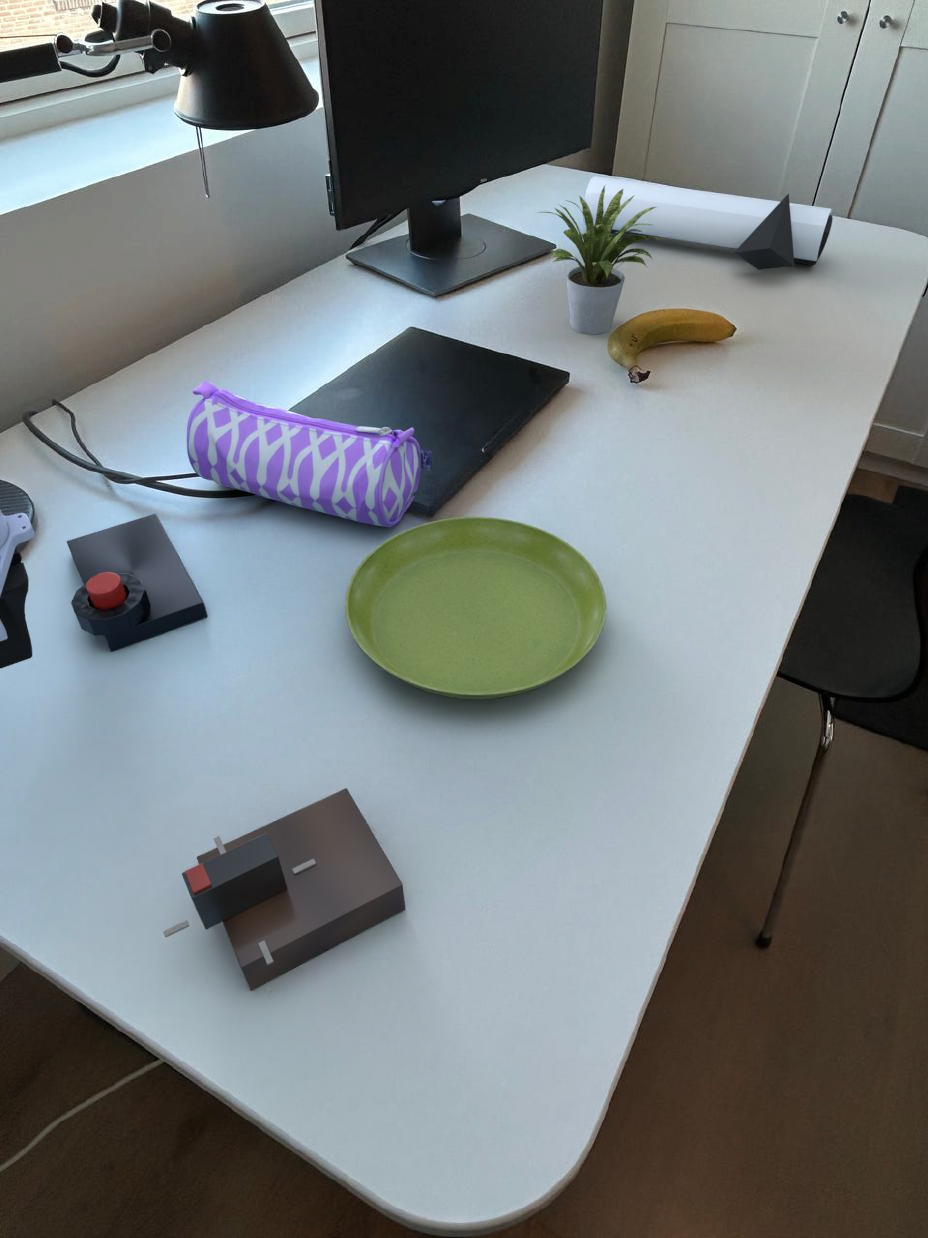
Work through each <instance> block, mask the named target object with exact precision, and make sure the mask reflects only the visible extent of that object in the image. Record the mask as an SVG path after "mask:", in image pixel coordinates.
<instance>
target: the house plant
mask: <svg viewBox="0 0 928 1238" xmlns="http://www.w3.org/2000/svg"><path fill="white" fill-rule="evenodd" d="M604 193H605V186H604V187H603V189H602V192H601V194H600V198H599V202H598V208H597V215H596V221H595V225H594V224H593V217H592V214H591V212H590V209H589V207H588V205H587V203H586V202H585V201H584V198H583V197H582V196H580V195H579V202H580V205H581V206H582V207H580V206H579V205H578V204H577V203H575V202H573V201H570V200H566V199H565V201H566V202H568V203H571V204H573V205H575V206H576V207H577V208H578V209H579V210H580V211H581V213H582V217H583V216H584V219H585V223H586V225H585V230H586V232H584V233H581V230H580V227H579V225H578V223H577V222H576V220H575V218H574V217H573V216H572V214H571V213H570V211H569V210H568V208H566V206H563V205H561V204H559V206H560V207H561V208H562V209H563V210H565V212H566V213H567V215H568V216H569V217H568V216H567V215H566V214H565V213H564V212H563V211H562V210H560V209H557V208H556V207H554V210H555V211H556V213H555V212H551V211H537V213H545V214H553V215H555V216H558V217H559V218H560V219H561V220H562V221H563V222H564V223H565V224H566V225H567V227H568V229H565V230H564V231H563V232H562V233H563V235H565V237H567V238H568V239H569V240H570V241H571V242H572V243H573V244H574V245H575V247H576V248H577V250H578V252H579V254H580V256H581V259H582V261H583V263H584V265H583V264H582V263H581V261H580V260H579V259H578V258H577V257H575V256H574V255H573V254H572V253H571V252H569V251H568V250H566V249H563V248H557V249H555V250H554V251H553V253H552V255H551V256H550V257H549V259H552V258H555V259H554V260H553V261H552V263H555V262H556V263H557V262H561V261H575V262H577V265H578V266H576V267H574V268H571V269H569V270H568V271H567V274H566V286H567V299H568V310H569V322H570V327H571V328H572V330H574V331H576V332H578V333H581V334H584V335H601V334H604V333H607V332H609V331H610V330H611V329H612V327H613V322H614V319H615V315H616V311H617V308H618V305H619V302H620V297H621V294H622V290H623V287H624V283H625V279H626V277H625V275H624V273H623V272H622V271H621V270H619V269H617V267H616V268H615V267H614V266H615V265H616V264H618V263H620V264H619V265H618V267H620V266H621V265H622V264H623V263H638V264H639V263H640V264H641V265H644V266H645V267H646V268H648V266H647V265H646V263H645V261H644V259H643V258H642V257H640V256H638V255H645V256H647V257H649V258H650V259H651V260H652V261H654V259H653V257H652V255H651V254H650V252H648V251H647V250H646V249H644V248H639V247H638V248H637V247H636V248H630V249H626V248H627V247H628V246H630V245H632V244H634V243H637V242H641V241H650V240H657V241H666V238H661V237H652V236H645V235H636V234H632V235H628V236H625V235H626V233H628V232H631V231H637V232H642V231H640V230H637V229H632V230H629V231H627V230H628V229H629V228H630V227H632V226H637V225H651V224H643V223H641V224H634V223H635V222H636V221H637V220H638V219H639V218H640V217H641V216H642V215H643V214H645V213H646V212H648V211H650V210H652V209H654V208H656V207H651V208H648V209H645V210H643V211H641V212H640V213H638V214H637V215H635V216H634V217H633V218H632V219H631V220H630V221H629V222H627V223H626V224H625V225H624V226H623V227H622V228H621V230H620V231H619V232H615V233H614V232H611V230H612V227H613V225H614V222H615V220H616V218H617V216H618V215H619V213H620V212H621V211H622V209H623V208H624V207H625V206H626V205H627V204H628V203H629V202H630V201H631V199H632V198H633V197H634V196H635V195H634V196H632V197H631V198H630V199H628V200H627V201H626V202H624V203H623V204H622V205H621V206H620V199H621V197H622V195H623V189H622V190H620V191H619V192H618V193H617V194H616V195H615V196H614V197H613V199H612V200H611V202H610V204H609V206H608V208H607V210H606V212H605V214H604V216H603V213H604V209H603V199H604ZM581 208H582V209H581ZM569 218H570V219H571V220H570V219H569ZM585 223H584V224H585ZM633 224H634V225H633ZM626 231H627V232H626ZM625 232H626V233H625ZM623 236H625V237H623ZM625 249H626V250H625ZM631 253H635V254H633V255H629V256H625V255H626V254H631ZM623 256H624V257H623Z"/></svg>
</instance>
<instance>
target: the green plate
mask: <svg viewBox="0 0 928 1238" xmlns="http://www.w3.org/2000/svg"><path fill="white" fill-rule="evenodd" d="M344 599H345V600H344V610H345V618H346V621H347V626H348V628H349V631H350V633H351V635H352V637H353V638H354V640H355V642H356V644H357V645H358V646H359V647H360V649H361V650H362V651H363V652H364V653H365V654H366V655H367V656H368V657H369V658H370V660H372V661H373V662H374V663H375V664H376V665H377V666H379V667H380V668H381V669H382V670H383V671H385V672H387V673H388V674H390V675H391V676H393V677H394V678H396V679H398V680H399V681H402V682H403V683H406V684H407V685H410V686H412V687H415V688H417V689H419V690H422V691H424V692H428V693H432V694H435V695H438V696H444V697H449V698H456V699H465V700H467V699H469V700H485V699H486V700H487V699H488V700H489V699H499V698H504V697H511V696H515V695H519V694H523V693H525V692H529V691H531V690H534V689H537V688H539V687H542V686H544V685H546V684H548V683H551V682H552V681H555V680H556V679H557V678H559V677H561V676H562V675H563V674H565V673H567V672H568V671H570V670H571V668H572V669H573V667H574V666H576V665H577V664H579V662H581V660H583V659H584V658H585V656H586V655H588V654H589V652H590V651H591V650H592V648H593V647H594V646H595V644H596V643H597V641H598V639H599V637H600V636H601V634H602V631H603V629H604V625H605V622H606V617H607V598H606V593H605V590H604V587H603V584H602V581H601V579H600V577H599V575H598V573H597V571H596V570H595V569H594V567H593V566H592V564H591V563H590V562H589V561H588V559H586V557H585V556H584V555H583V554H582V553H581V552H579V550H577V549H576V548H575V547H573V546H572V545H571V544H570V543H568V542H567V541H565V540H563V539H561V538H560V537H558V536H557V535H555V534H553V533H551V532H549V531H547V530H544V529H542V528H538V527H536V526H533V525H531V524H527V523H524V522H520V521H516V520H512V519H505V518H500V517H489V516H460V517H450V518H444V519H443V518H442V519H439V520H433V521H430V522H426V523H421V524H418V525H417V526H416V525H415V526H413V527H410V528H407V529H405V530H403V531H401V532H399V533H396V534H395V535H393V536H391V537H389V538H388V539H386V540H384V541H383V542H381V543H380V544H379V545H378V546H376V547H375V548H374V549H373V550H372V551H370V552H369V553H368V554H367V555H366V556H365V557H364V558H363V560H362V561H361V562H360V563H359V565H358V566H357V567H356V568H355V570H354V572H353V574H352V576H351V578H350V580H349V582H348V585H347V588H346V591H345V598H344Z"/></svg>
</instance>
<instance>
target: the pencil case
mask: <svg viewBox="0 0 928 1238" xmlns="http://www.w3.org/2000/svg"><path fill="white" fill-rule="evenodd" d="M192 394H193V395H195V396H199V395H201V396H202V397H203V398H201V399H200V400H199V401H198V402H197V403H196V404H195V405H194V406H193V407H192V409H191V411H190V413H189V416H188V419H187V425H186V427H187V428H186V452H187V457H188V460H189V463H190V466H191V468H192V470H193V471H194V472H195V474H196V475H198V476H199V477H201V478H202V479H204V480H208V481H213V482H214V483H216V484H218V485H220V486H223V487H227V488H230V489H235V490H239V491H242V492H247V493H249V494H253V495H257V496H261V497H263V498H266V499H269V500H274V501H277V502H281V503H284V504H288V505H291V506H294V507H299V508H303V509H307V510H311V511H314V512H318V513H323V514H326V515H331V516H335V517H338V518H342V519H346V520H350V521H354V522H358V523H363V524H369V525H372V526H378V527H385V528H391V527H393V526H394V525H397V524H398V523H399V522H400V521H401V520H402V517H403V516H404V514H405V512H407V510H408V509H409V507H411V504H412V503H413V501H414V500H415V496H416V495H415V496H413V497H410V496H411V494H412V493H414V492H416V493H417V491H418V487H419V484H420V479H421V472H422V470H425V471H428V472H430V471H433V451H432V450H429V449H421V446H420V444H419V442H418V441H417V439H416V438H415V437H413V435H414V434H415V428H414V427H410V428H408V429H406V430H405V431H403V430H401V429H394V430H392V429H391V428H390V427H389V426H383V427H381V428H380V427H374V426H373V427H372V426H364V425H360V426H358V425H354V424H347V423H341V422H337V421H333V420H328V419H324V418H316V417H315V418H312V417H310V416H307V415H302V414H299V413H296V412H293V411H291V410H287V409H282V408H279V407H275V406H269V405H266V404H262V403H258V402H256V401H251V400H249V399H247V398H245V397H243V396H240V395H238V394H235V393H234V392H231V391H229V390H227V389H223V388H222V389H219V388H218V387H217V386H216V385H214V384H212V382H210V381H208V380H205V381H204V382H202V383H200V384H199V385H198V386H197V387H196V388H194V389H193V390H192ZM421 469H422V470H421ZM409 498H410V499H409Z"/></svg>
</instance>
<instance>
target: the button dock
mask: <svg viewBox="0 0 928 1238" xmlns="http://www.w3.org/2000/svg"><path fill="white" fill-rule="evenodd" d="M66 545H67V547H68V549H69V552H70V554H71V557H72V559H73V561H74V565H75V566H76V569H77V572H78V575H79V577H80V579H81V582H82V584H83V585H82V586H81V587H79V588H77V590H75V593H74V595H73V597H72V600H71V601H70V604H71V607H72V609H73V612H74V614H75V617H76V620H77V622H78V624H79V627H80V629H81V630H82V631H83V632H86V633H88V634H91V635H93V636H94V637H95V636H96V637H101V636H102V637H103V636H104V639H105V642H106V644H107V646H108V649H109V651H110V652H111V653H112V652H115V651H117V650H120V649H123V648H125V647H129V646H131V645H133V644H134V645H135V644H137V643H139V642H140V643H141V642H142V641H145V640H148V639H151V638H154V637H156V636H158V635H159V636H160V635H162V634H165V633H167V632H171V631H172V630H173V631H174V630H175V629H178V628H181V627H184V626H186V625H190V624H192V623H196V622H197V621H200V620H203V619H206V618H208V617H209V615H208V612H207V609H206V605H205V602H204V600H203V598H202V596H201V595H200V593H199V591H198V589H197V587H196V585H195V583H194V582H193V580H192V578H191V576H190V574H189V572H188V570H187V568H186V567H185V564H184V563H183V561H182V559H181V558H180V556H179V553H178V552H177V550H176V548H175V546H174V545H173V542H172V541H171V538H170V536H169V535H168V533H167V531H166V530H165V528H164V526H163V524H162V522H161V519H159V516H158V514H157V513H152V514H149V515H146V516H143V517H139V518H136V519H132V520H129V521H127V522H124V523H121V524H120V523H119V524H117V525H114V526H111V527H107V528H103V529H101V530H97V531H94V532H91V533H88V534H84V535H81V536H78V537H75V538H72V539H68V540H66ZM105 572H111V573H115V574H117V575H118V576H119V577H120V579H121V581H122V584H123V587H124V590H125V592H126V599H125V601H124V602H123V603H121V604H120V605H119V606H116V607H113V608H110V609H106V610H100V609H97V608H96V607H94V605H93V604H92V601H91V599H90V596H89V594H88V591H87V589H86V584H87V582H88V581H89V580H90V579H91V578H92V577H93V576H95V575H97V574H100V573H105Z"/></svg>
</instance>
